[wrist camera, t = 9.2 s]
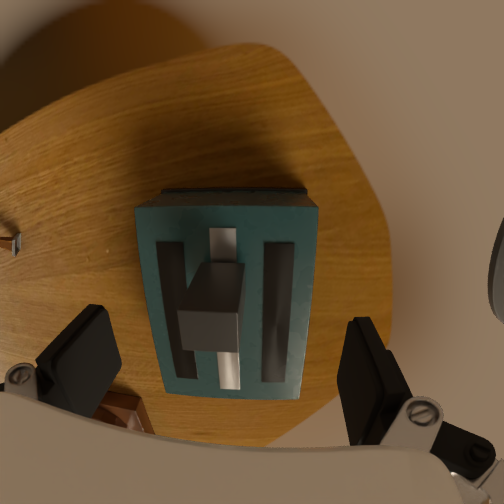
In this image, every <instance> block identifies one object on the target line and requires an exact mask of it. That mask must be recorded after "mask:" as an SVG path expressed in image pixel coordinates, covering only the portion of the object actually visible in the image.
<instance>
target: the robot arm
mask: <svg viewBox="0 0 504 504" xmlns="http://www.w3.org/2000/svg"><path fill="white" fill-rule="evenodd" d="M35 361H36V363H37V365H38V366H37V367H36V368H35V367H34V366H33V365H32V364H30V363H19V364H16V365H14V366H13V367H11V368H10V369H9V370H8V371H7V373H6V376H5V383H1V384H0V504H504V460H503V459H501V460H500V461H498V460H497V459H495V457H496V453H495V449H494V447H493V445H492V444H491V443H490V442H489V441H488V440H486V439H485V438H482V437H480V436H478V435H475V434H473V433H470V432H468V431H465V430H463V429H461V428H458V427H456V426H454V425H452V424H449V423H447V422H445V421H443V416H444V414H443V410H442V408H441V406H440V405H439V404H438V403H437V402H436V401H434V400H433V399H431V398H428V397H424V396H417V397H413V396H412V393H411V391H410V389H409V387H408V385H407V383H406V381H405V378H404V376H403V374H402V372H401V370H400V368H399V366H398V364H397V362H396V360H395V358H394V356H393V354H392V352H391V351H390V350H386V349H385V347H384V345H383V342H382V340H381V338H380V336H379V334H378V332H377V330H376V328H375V326H374V324H373V322H372V321H371V319H370V317H354V319H353V321H349V322H348V326H347V331H346V336H345V341H344V346H343V351H342V356H341V360H340V365H339V369H338V374H337V385H338V390H339V394H340V398H341V403H342V408H343V413H344V418H345V422H346V427H347V432H348V437H349V442H350V446H338V447H316V448H268V447H246V446H232V445H221V444H212V443H203V442H195V441H188V440H182V439H176V438H170V437H164V436H159V435H154V434H149V433H144V432H140V431H135V430H131V429H127V428H123V427H119V426H115V425H111V424H107V423H104V422H100V421H97V420H94V419H91V417H92V416H93V414H94V412H95V411H96V409H97V407H98V405H99V404H100V402H101V400H102V399H103V397H104V395H105V394H106V392H107V390H108V389H109V387H110V385H111V384H112V382H113V380H114V379H115V377H116V375H117V374H118V372H119V371H120V369H121V365H122V361H121V358H120V354H119V351H118V348H117V344H116V341H115V337H114V333H113V330H112V326H111V322H110V318H109V314H108V311H107V310H106V309H105V308H104V307H103V306H102V305H96V304H89V305H88V306H87V307H86V308H85V309H84V310H83V311H82V312H81V313H80V314H79V315H78V316H77V317H76V318H75V319H74V320H73V321H72V322H71V323H70V324H69V325H68V326H67V327H66V328H65V329H64V330H63V331H62V332H61V333H60V334H59V335H58V336H57V337H56V338H55V339H54V340H53V341H52V342H51V343H50V344H49V345H48V347H47V348H46V349H45V350H44V351H43V352H42V353H41V354H40V355H39V356H38V357H37V358H36V359H35Z"/></svg>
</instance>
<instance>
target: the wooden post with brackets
mask: <svg viewBox="0 0 504 504" xmlns="http://www.w3.org/2000/svg"><path fill="white" fill-rule="evenodd" d="M20 246H21V233H20V234H18V233H17V234H16V236H15V237H0V247H1V248H4V249H7V250H9V251H11V252H12V256H15V257H16V255H17V254H18V252H19V251H20Z"/></svg>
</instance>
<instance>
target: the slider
mask: <svg viewBox="0 0 504 504" xmlns="http://www.w3.org/2000/svg"><path fill="white" fill-rule="evenodd" d="M245 297H246V283H245V263H209V262H201V264H200V265H199V267H198V269H197V271H196V273H195V275H194V277H193V279H192V281H191V283H190V285H189V287H188V289H187V291H186V293H185V295H184V297H183V299H182V301H181V303H180V305H179V307H178V309H177V315H178V322H179V329H180V336H181V343H182V349H183V350H192V351H207V352H227V353H239V350H240V341H241V332H242V323H243V314H244V305H245Z"/></svg>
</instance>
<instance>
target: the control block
mask: <svg viewBox="0 0 504 504" xmlns="http://www.w3.org/2000/svg"><path fill="white" fill-rule="evenodd" d="M91 419H94V420H97V421H100V422H104V423H107V424H111V425H115V426H119V427H123V428H127V429H131V430H135V431H140V432H144V433H149V434H154V435H155V433H154V431H153V428H152V426H151V423H150V421H149V418H148V415H147V413H146V410H145V407H144V404H143V402H142V399H141V397H135V396H129V395H124V394H119V393H114V392H109V391H107V392H106V394H105V395H104V397H103V399H102V400H101V402H100V404H99V405H98V407H97V409H96V411H95V412H94V414H93V416H92V417H91Z"/></svg>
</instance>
